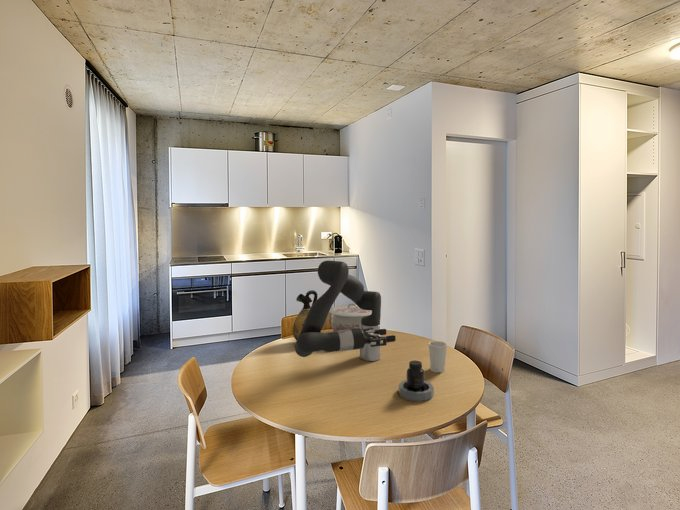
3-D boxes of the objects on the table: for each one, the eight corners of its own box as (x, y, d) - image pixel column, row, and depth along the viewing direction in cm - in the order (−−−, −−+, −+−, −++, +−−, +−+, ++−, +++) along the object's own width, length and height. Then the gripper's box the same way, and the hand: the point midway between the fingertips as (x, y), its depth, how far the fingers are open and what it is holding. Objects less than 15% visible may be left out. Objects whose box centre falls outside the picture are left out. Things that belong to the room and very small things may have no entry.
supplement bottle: (403, 390, 155) (403, 360, 154) (418, 387, 158) (418, 358, 156) (412, 397, 149) (412, 366, 148) (428, 394, 151) (428, 364, 150)
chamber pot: (383, 345, 213) (382, 307, 211) (333, 348, 209) (332, 310, 207) (370, 330, 241) (370, 297, 239) (326, 333, 236) (325, 299, 234)
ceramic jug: (300, 350, 206) (299, 294, 203) (288, 343, 219) (287, 290, 216) (328, 344, 215) (327, 290, 212) (315, 337, 228) (314, 286, 225)
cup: (447, 373, 173) (447, 347, 171) (428, 372, 174) (428, 346, 173) (446, 367, 180) (446, 341, 179) (428, 366, 182) (428, 340, 181)
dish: (394, 397, 151) (394, 389, 150) (405, 384, 162) (405, 377, 162) (427, 404, 144) (427, 396, 144) (436, 390, 156) (437, 383, 156)
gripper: (355, 335, 136) (398, 330, 141) (343, 324, 150) (383, 320, 154) (356, 356, 137) (398, 350, 142) (344, 343, 151) (383, 338, 155)
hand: (390, 334), depth 148 cm, fingers open, 8 cm apart
